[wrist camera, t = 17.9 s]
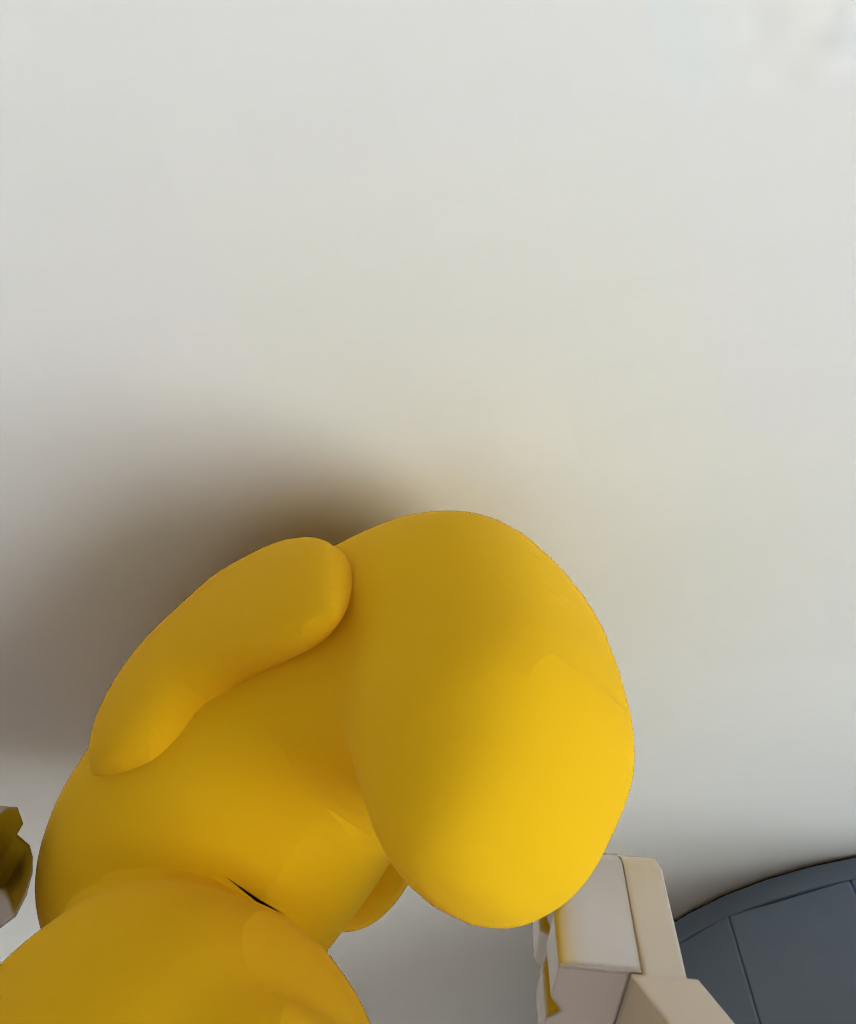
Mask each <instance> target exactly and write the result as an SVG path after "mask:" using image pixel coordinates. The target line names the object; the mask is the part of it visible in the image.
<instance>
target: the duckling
mask: <svg viewBox="0 0 856 1024" xmlns="http://www.w3.org/2000/svg"><path fill="white" fill-rule="evenodd" d="M633 771H634V738H633V728H632V722H631V716H630V711H629V707H628V703H627V699H626V694H625V691H624V688H623V685H622V681H621V677H620V673H619V670H618V667H617V664H616V661H615V658H614V656H613V654H612V651H611V648H610V646H609V643H608V640H607V637H606V635H605V633H604V630H603V628H602V626H601V624H600V622H599V621H598V619H597V617H596V615H595V613H594V611H593V610H592V608H591V607H590V606H589V605H588V603H587V601H586V599H585V598H584V596H583V595H582V593H581V592H580V591H579V590H578V589H577V588H576V587H575V586H574V584H573V583H572V581H571V580H570V579H569V577H568V576H567V575H566V574H565V573H564V572H563V571H562V569H561V568H560V567H559V566H558V565H557V564H556V563H555V562H554V561H553V560H552V559H551V558H550V557H549V556H548V555H547V554H546V553H544V552H543V551H542V550H541V549H540V548H539V547H538V546H537V545H536V544H534V543H533V542H532V541H531V540H530V539H528V538H527V537H526V536H525V535H523V534H522V533H520V532H519V531H517V530H515V529H513V528H512V527H510V526H508V525H506V524H504V523H502V522H500V521H498V520H496V519H493V518H490V517H487V516H484V515H481V514H476V513H471V512H464V511H433V512H425V513H418V514H412V515H407V516H403V517H399V518H396V519H393V520H390V521H387V522H385V523H382V524H380V525H377V526H375V527H372V528H370V529H368V530H365V531H363V532H361V533H359V534H357V535H355V536H353V537H351V538H349V539H347V540H345V541H343V542H341V543H339V544H337V545H334V546H333V545H332V544H330V543H329V542H327V541H324V540H322V539H320V538H314V537H300V538H292V539H286V540H282V541H279V542H276V543H273V544H270V545H268V546H266V547H263V548H261V549H259V550H257V551H255V552H253V553H251V554H249V555H247V556H245V557H243V558H242V559H240V560H238V561H236V562H234V563H232V564H231V565H229V566H227V567H226V568H224V569H222V570H221V571H219V572H218V573H216V574H215V575H213V576H212V577H211V578H209V579H208V580H207V581H206V582H205V583H203V584H202V585H201V586H200V587H199V588H198V589H197V590H196V591H194V592H193V593H192V594H191V595H190V596H189V597H188V598H187V599H186V600H185V601H184V602H182V603H181V604H180V605H179V606H178V607H177V608H176V609H175V610H174V611H173V612H171V613H170V614H169V615H168V616H167V617H166V618H165V619H164V620H163V621H162V622H161V623H160V624H159V625H158V626H157V627H156V628H155V629H154V630H153V631H152V632H151V633H150V634H149V635H148V636H147V637H146V638H145V639H144V640H143V641H142V643H141V644H140V645H139V646H138V647H137V649H136V650H135V651H134V652H133V653H132V655H131V656H130V657H129V659H128V660H127V661H126V663H125V664H124V666H123V667H122V669H121V670H120V672H119V673H118V675H117V676H116V678H115V679H114V681H113V683H112V685H111V686H110V688H109V690H108V692H107V694H106V695H105V697H104V699H103V701H102V704H101V706H100V708H99V710H98V713H97V715H96V718H95V721H94V724H93V727H92V731H91V735H90V742H89V748H88V750H87V751H86V753H85V754H84V756H83V757H82V759H81V760H80V762H79V763H78V765H77V766H76V768H75V769H74V771H73V773H72V774H71V776H70V777H69V779H68V781H67V783H66V784H65V786H64V788H63V790H62V792H61V794H60V796H59V798H58V800H57V802H56V804H55V806H54V809H53V811H52V813H51V816H50V818H49V821H48V824H47V827H46V830H45V833H44V836H43V839H42V843H41V847H40V851H39V856H38V861H37V868H36V877H35V900H36V909H37V915H38V920H39V925H40V928H41V930H39V931H38V932H37V933H35V934H34V935H33V936H32V937H30V938H29V939H28V940H27V941H25V942H24V943H23V944H22V945H21V946H20V947H18V948H17V949H16V950H15V951H14V952H13V953H12V954H11V955H10V956H9V957H7V958H6V959H5V960H4V961H3V962H2V963H1V964H0V1024H370V1022H369V1019H368V1017H367V1015H366V1012H365V1010H364V1008H363V1006H362V1004H361V1002H360V1000H359V998H358V997H357V995H356V993H355V991H354V990H353V988H352V986H351V985H350V983H349V982H348V980H347V979H346V977H345V976H344V974H343V973H342V972H341V970H340V969H339V967H338V966H337V965H336V964H335V962H334V961H333V960H332V958H331V957H330V956H329V955H328V954H327V951H328V949H329V948H330V947H331V945H332V944H333V943H334V941H335V940H336V939H337V937H338V936H339V935H340V934H341V932H350V931H355V930H359V929H362V928H364V927H367V926H369V925H371V924H372V923H374V922H375V921H377V920H378V919H380V918H381V917H382V916H383V915H384V914H385V913H386V912H387V911H388V910H389V909H390V908H391V907H392V906H393V905H394V904H395V902H396V901H397V900H398V899H399V897H400V896H401V894H402V893H403V891H404V890H405V888H406V887H407V885H409V886H410V887H411V888H412V889H414V890H415V891H416V892H417V893H418V894H419V895H421V896H422V897H423V898H424V899H425V900H426V901H428V902H429V903H430V904H431V905H432V906H434V907H436V908H438V909H439V910H441V911H443V912H445V913H447V914H449V915H451V916H452V917H455V918H458V919H460V920H462V921H464V922H466V923H468V924H470V925H475V926H481V927H488V928H514V927H520V926H523V925H527V924H530V923H532V922H535V921H537V920H539V919H541V918H542V917H544V916H546V915H548V914H550V913H552V912H553V911H555V910H556V909H558V908H559V907H561V906H562V905H563V904H565V903H566V902H567V901H568V900H570V899H571V898H572V897H573V896H574V895H575V894H576V893H577V892H578V890H579V889H580V888H581V887H582V886H583V885H584V883H585V882H586V881H587V879H588V878H589V877H590V875H591V874H592V872H593V871H594V869H595V868H596V866H597V864H598V863H599V861H600V859H601V857H602V855H603V853H604V851H605V849H606V847H607V844H608V842H609V840H610V838H611V836H612V834H613V832H614V830H615V828H616V825H617V823H618V821H619V818H620V816H621V814H622V811H623V808H624V806H625V803H626V800H627V797H628V794H629V790H630V787H631V782H632V778H633Z"/></svg>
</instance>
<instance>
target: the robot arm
mask: <svg viewBox="0 0 856 1024" xmlns="http://www.w3.org/2000/svg"><path fill="white" fill-rule="evenodd" d="M22 825H23V822H22V819H21V816H20V813H19V810H18V808H17V807H9V806H0V928H1V927H2V926H4V925H5V924H6V923H8V922H9V921H10V920H12V919H13V918H14V917H16V915H17V913H18V911H19V909H20V907H21V905H22V903H23V901H24V899H25V897H26V895H27V891H28V888H29V884H30V880H31V877H32V873H33V856H32V853H31V849H30V845H29V844H28V843H26V842H25V841H24V840H23V839H22V838H20V837H19V836H18V835H17V833H18V832H19V830H20V828H21V826H22ZM532 927H533V956H534V961H535V963H536V964H537V966H538V967H539V968H540V970H541V971H540V976H539V981H538V986H537V991H536V1004H537V1018H538V1024H735V1023H734V1022H733V1021H732V1020H731V1019H730V1017H729V1016H728V1015H727V1014H726V1013H725V1011H724V1010H723V1009H722V1008H721V1007H720V1005H719V1004H718V1003H717V1002H716V1001H715V999H714V998H713V997H712V996H711V995H710V993H709V992H708V991H707V990H706V989H705V987H704V986H703V985H702V984H701V983H700V981H699V980H696V979H688V978H687V977H686V973H685V969H684V964H683V960H682V956H681V951H680V947H679V942H678V938H677V934H676V929H675V925H674V921H673V916H672V912H671V908H670V903H669V899H668V894H667V890H666V886H665V881H664V877H663V873H662V868H661V865H660V864H659V862H658V861H657V859H655V858H647V857H632V856H617V854H606V853H603V855H602V857H601V859H600V861H599V863H598V864H597V866H596V868H595V869H594V871H593V872H592V874H591V875H590V877H589V878H588V879H587V881H586V882H585V883H584V885H583V886H582V887H581V888H580V889H579V890H578V892H577V893H576V894H575V895H574V896H573V897H572V898H571V899H570V900H568V901H567V902H566V903H565V904H563V905H562V906H561V907H559V908H558V909H556V910H555V911H553V912H552V913H550V914H548V915H546V916H544V917H542V918H541V919H539V920H537V921H535V922H533V923H532Z"/></svg>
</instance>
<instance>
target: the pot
mask: <svg viewBox="0 0 856 1024" xmlns="http://www.w3.org/2000/svg"><path fill="white" fill-rule="evenodd" d="M674 925H675V929H676V934H677V938H678V942H679V947H680V951H681V956H682V960H683V964H684V969H685V973H686V977H687V978H688V979H696V980H699V981H700V983H701V984H702V985H703V986H704V987H705V989H706V990H707V991H708V992H709V993H710V995H711V996H712V997H713V998H714V999H715V1001H716V1002H717V1003H718V1004H719V1005H720V1007H721V1008H722V1009H723V1010H724V1011H725V1013H726V1014H727V1015H728V1016H729V1017H730V1019H731V1020H732V1021H733V1022H734V1023H735V1024H856V858H851V859H846V860H842V861H837V862H832V863H827V864H822V865H818V866H813V867H808V868H805V869H802V870H798V871H795V872H791V873H788V874H785V875H781V876H778V877H774V878H771V879H767V880H764V881H762V882H759V883H757V884H754V885H751V886H749V887H746V888H744V889H741V890H738V891H736V892H733V893H731V894H728V895H725V896H723V897H721V898H719V899H717V900H715V901H713V902H711V903H709V904H707V905H705V906H703V907H701V908H699V909H697V910H695V911H693V912H691V913H689V914H687V915H686V916H684V917H682V918H681V919H679V920H678V921H676V922H674Z"/></svg>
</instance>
